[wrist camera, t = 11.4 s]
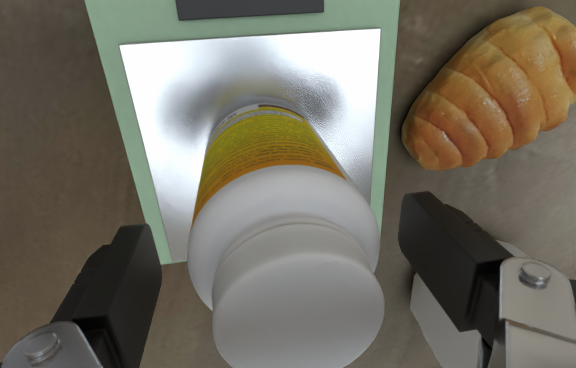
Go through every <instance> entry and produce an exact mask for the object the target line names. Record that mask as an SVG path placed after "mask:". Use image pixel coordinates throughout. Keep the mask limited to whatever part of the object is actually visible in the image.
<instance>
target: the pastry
mask: <svg viewBox="0 0 576 368" xmlns="http://www.w3.org/2000/svg"><path fill="white" fill-rule="evenodd" d="M575 102H576V27H575V26H574V25H573V24H572V23H570V22H569V21H568V20H566V19H565V18H564V17H562V16H560V15H558V14H556V13H554V12H552V11H551V10H549V9H548V8H546V7H541V6H537V7H531V8H528V9H525V10H522V11H520V12H517V13H515V14H513V15H510V16H507V17H504V18H501V19H498V20H497V21H495V22H493V23H492V24H490V25H488V26H487V27H485V28H484V29H483V30H482V31H480V32H479V33H478V34H476V35H475V36H473V37H472V38H470V39H469V40H468V41H467V42H466V43H465V45H464V46H463V47H462V48H461V49H460V50H459V51H458V52H457V53H455V54H454V55H453V57H452V58H451V59H450V61H448V62H447V63H446V64H445V65H444V66H443V67H442V69H441V70H440V71H439V72H438V74H437V75H436V76H435V78H434V79H433V80H432V81H431V82H429V84H428V85H427V86H426V87H425V89H424V90H423V91H422V92H421V93H420V95H419V96H418V98H417V99H416V100H415V102H414V103H413V104H412V106H411V108H410V110H409V113H408V115H407V117H406V119H405V121H404V123H403V125H402V136H401V138H402V142H403V144H404V146H405V148H406V150H407V151H408V152H409V154H410V155H411V156H412V157H413V158H414V159H415V160H416V162H417V163H418V164H419V166H421V167H422V168H423V169H426V170H437V171H444V170H448V169H451V168H456V167H471V166H472V165H474V164H475V163H477V162H478V161H480V160H482V159H492V158H499V157H501V156H502V155H503V154H504V153H505V152H506V151H507V150H515V149H517V148H519V147H521V146H523V145H525V144H528V143H531V142H533V141H534V140H535V139H536V137H537V135H538V131H549V130H552V129H554V128H555V127H557V126H558V125H560V124H561V123H562V122H564V121H565V120H566V119H567V116H568V108H569V106H570V105H572V104H573V103H575Z"/></svg>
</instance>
